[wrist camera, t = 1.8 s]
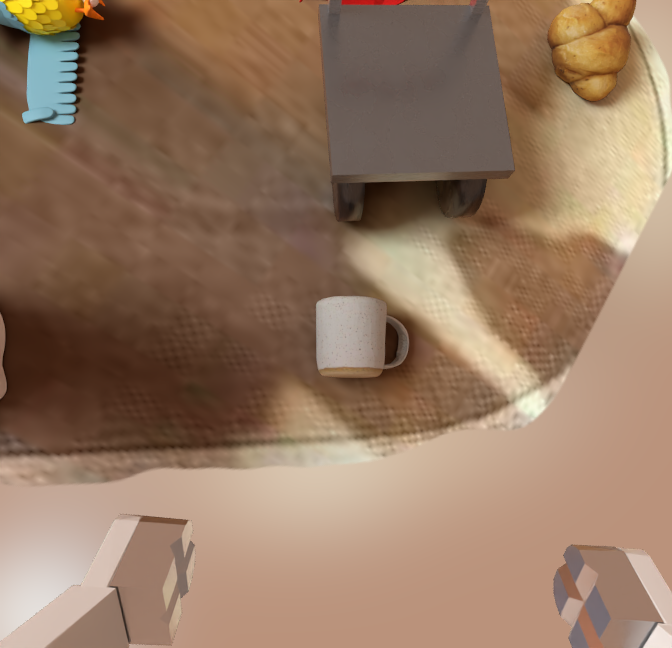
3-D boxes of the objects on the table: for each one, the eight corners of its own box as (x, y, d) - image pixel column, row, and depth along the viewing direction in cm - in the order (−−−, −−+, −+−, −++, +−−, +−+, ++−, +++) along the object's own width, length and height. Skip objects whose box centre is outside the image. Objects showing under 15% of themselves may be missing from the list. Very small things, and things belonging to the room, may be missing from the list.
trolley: (471, 229, 60) (597, 89, 35) (325, 235, 59) (348, 92, 34) (450, 79, 65) (550, -143, 39) (313, 80, 63) (326, -151, 38)
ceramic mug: (314, 380, 55) (319, 373, 48) (314, 309, 57) (318, 291, 49) (407, 380, 56) (426, 373, 49) (404, 310, 58) (422, 293, 50)
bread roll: (615, 109, 66) (658, 67, 58) (545, 107, 65) (580, 63, 57) (603, 27, 68) (643, -25, 61) (536, 23, 68) (567, -30, 60)
